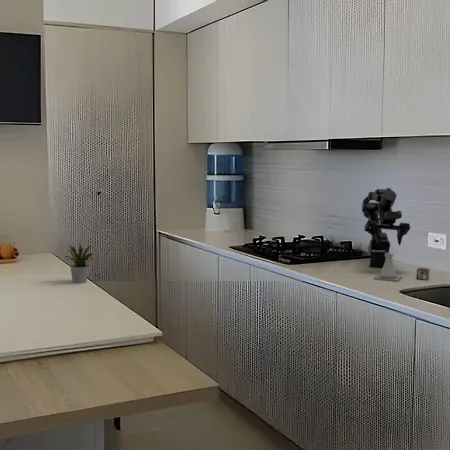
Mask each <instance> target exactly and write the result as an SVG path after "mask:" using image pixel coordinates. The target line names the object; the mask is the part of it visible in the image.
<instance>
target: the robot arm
mask: <svg viewBox="0 0 450 450" xmlns="http://www.w3.org/2000/svg"><path fill="white" fill-rule="evenodd" d="M396 198H397V193H396V192H395V191H393V190H392V188H390V187H387V188H386V189H384V188H383V189H382V188H381V189H380V188H377V189H375V190H374V191H369V192H368V194H367V196H366V197H365V198H364V199H363V201H362V204H361V212H362V213H363V217H365V218H366V219H368V220H367V221H366V223H365V225H364V232H367V233H368V234H370V235H371V238H370V241H369V244H368V246H367V252H368V253H369V254H370V259H369V260H370V261H369V263H370V264H369V265H368V267H371V268H383V266H384V263H385V259H386V254H385V253H390V248H391V242H390V240H389V237H388V233H386V232H383V230H389V231H390V230H391V231H396V233H397V234H396V238H397V244H398V246H401V244H402V240H403V237H404V236H406V235H407V234H408V232H409V231H410V230H411V225H410V223H407V222H400V223H399V224H398V225H396V222H397V220H399V219H402V216H403V215H402V211H401V210H396V211H394V210H393V209H392V208H393V206H394V204H395V202H396ZM370 201H374V202H370Z"/></svg>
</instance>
